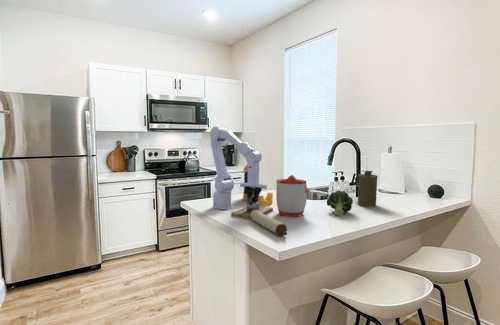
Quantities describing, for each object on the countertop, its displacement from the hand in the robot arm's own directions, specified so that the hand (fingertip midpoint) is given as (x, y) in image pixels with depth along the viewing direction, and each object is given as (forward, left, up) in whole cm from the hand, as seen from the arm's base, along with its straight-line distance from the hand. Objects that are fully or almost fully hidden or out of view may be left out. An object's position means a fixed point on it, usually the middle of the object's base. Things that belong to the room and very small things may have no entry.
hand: (253, 201), depth 148 cm
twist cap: (0, 0, -4) cm, 4 cm away
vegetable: (+38, +24, -6) cm, 46 cm away
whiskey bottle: (-17, +28, -6) cm, 33 cm away
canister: (+47, +51, -6) cm, 70 cm away
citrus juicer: (+18, +9, -6) cm, 21 cm away
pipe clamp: (-4, +20, -6) cm, 21 cm away
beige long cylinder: (+16, -17, -6) cm, 25 cm away
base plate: (0, 0, -6) cm, 6 cm away
